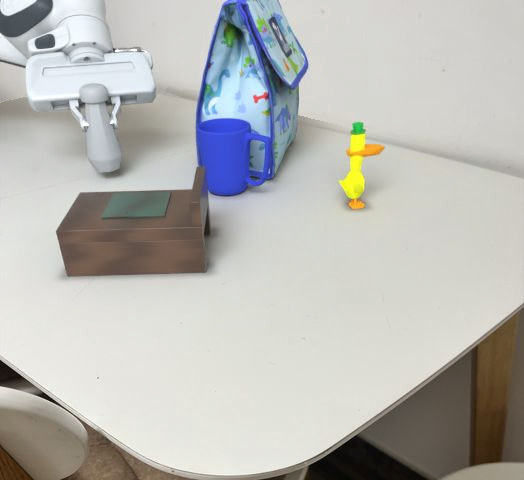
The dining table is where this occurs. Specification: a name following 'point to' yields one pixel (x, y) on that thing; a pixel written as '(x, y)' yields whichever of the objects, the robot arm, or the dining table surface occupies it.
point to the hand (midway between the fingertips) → (99, 128)
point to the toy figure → (357, 164)
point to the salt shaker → (100, 130)
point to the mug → (229, 154)
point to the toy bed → (137, 231)
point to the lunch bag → (254, 77)
